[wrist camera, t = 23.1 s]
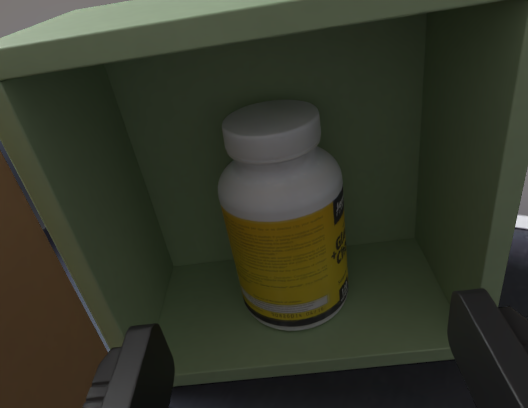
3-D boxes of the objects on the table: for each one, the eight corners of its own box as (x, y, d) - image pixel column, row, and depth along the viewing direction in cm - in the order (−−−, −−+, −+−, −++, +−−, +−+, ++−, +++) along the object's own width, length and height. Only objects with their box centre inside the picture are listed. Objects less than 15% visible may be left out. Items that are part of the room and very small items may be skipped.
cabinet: (488, 356, 22) (573, -47, 12) (131, 391, 23) (-46, 55, 13) (424, 238, 30) (444, -53, 20) (166, 269, 31) (73, 10, 22)
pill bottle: (344, 342, 22) (330, 144, 16) (230, 330, 24) (179, 148, 18) (353, 262, 28) (345, 89, 21) (259, 257, 29) (227, 96, 23)
